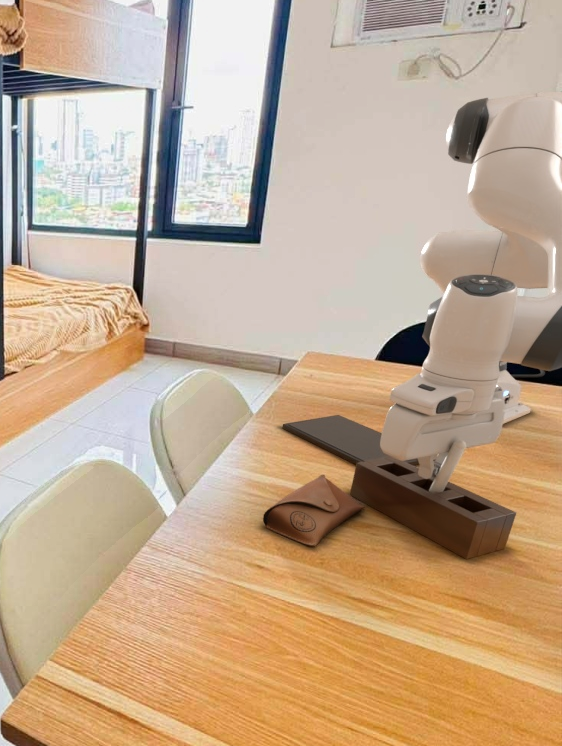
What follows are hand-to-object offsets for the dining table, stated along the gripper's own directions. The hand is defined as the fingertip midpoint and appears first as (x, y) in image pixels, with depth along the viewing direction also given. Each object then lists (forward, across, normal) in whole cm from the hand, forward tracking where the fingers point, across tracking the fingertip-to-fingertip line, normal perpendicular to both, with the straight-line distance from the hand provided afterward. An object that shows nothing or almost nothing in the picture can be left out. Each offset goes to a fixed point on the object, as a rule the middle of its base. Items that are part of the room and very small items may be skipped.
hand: (431, 475), depth 95 cm
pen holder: (+8, 0, 0) cm, 8 cm away
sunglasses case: (+8, +15, -6) cm, 18 cm away
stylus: (+8, 0, 0) cm, 8 cm away
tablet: (+8, -14, -25) cm, 30 cm away
